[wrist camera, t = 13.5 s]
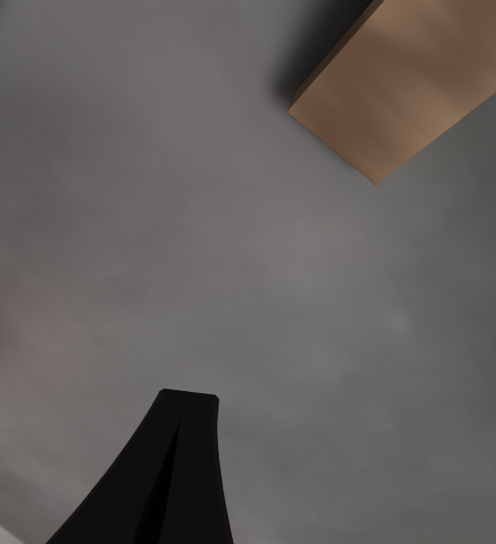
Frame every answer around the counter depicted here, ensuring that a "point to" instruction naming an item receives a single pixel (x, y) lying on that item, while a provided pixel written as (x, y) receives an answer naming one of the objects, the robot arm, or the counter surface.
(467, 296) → the counter surface
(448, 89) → the domino
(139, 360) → the counter surface
